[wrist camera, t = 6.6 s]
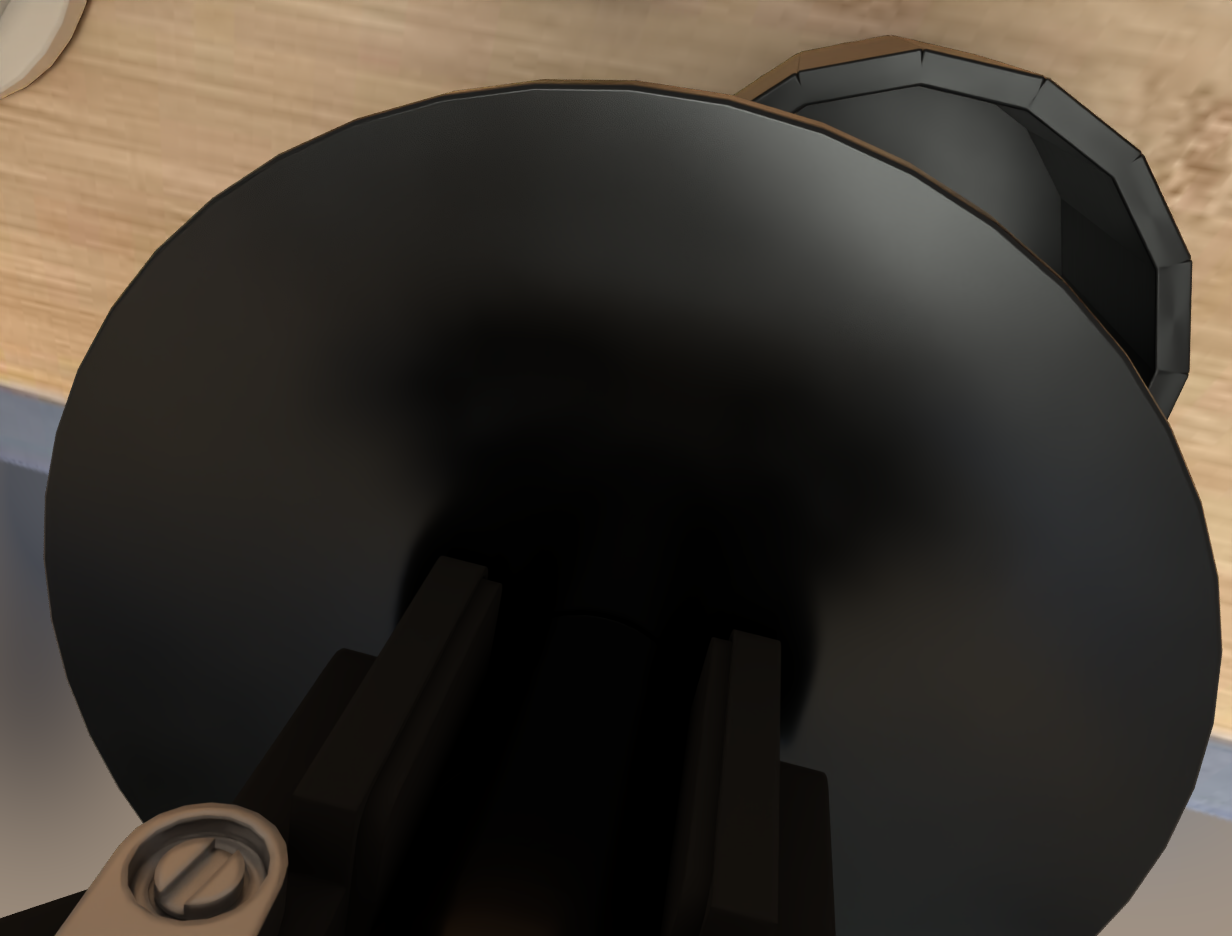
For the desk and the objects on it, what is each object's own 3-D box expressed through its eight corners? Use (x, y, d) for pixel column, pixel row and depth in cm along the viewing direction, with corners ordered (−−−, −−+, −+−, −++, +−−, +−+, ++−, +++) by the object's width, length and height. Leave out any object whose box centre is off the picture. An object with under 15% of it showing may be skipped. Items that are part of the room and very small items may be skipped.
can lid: (105, 887, 16) (-243, 1342, 11) (82, -59, 10) (-696, -116, 5) (953, 1119, 16) (1044, 1732, 10) (1432, 246, 10) (2253, 570, 4)
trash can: (624, 394, 35) (564, 523, 26) (715, -7, 29) (678, -10, 21) (992, 490, 34) (1055, 655, 25) (1155, 96, 29) (1304, 136, 20)
